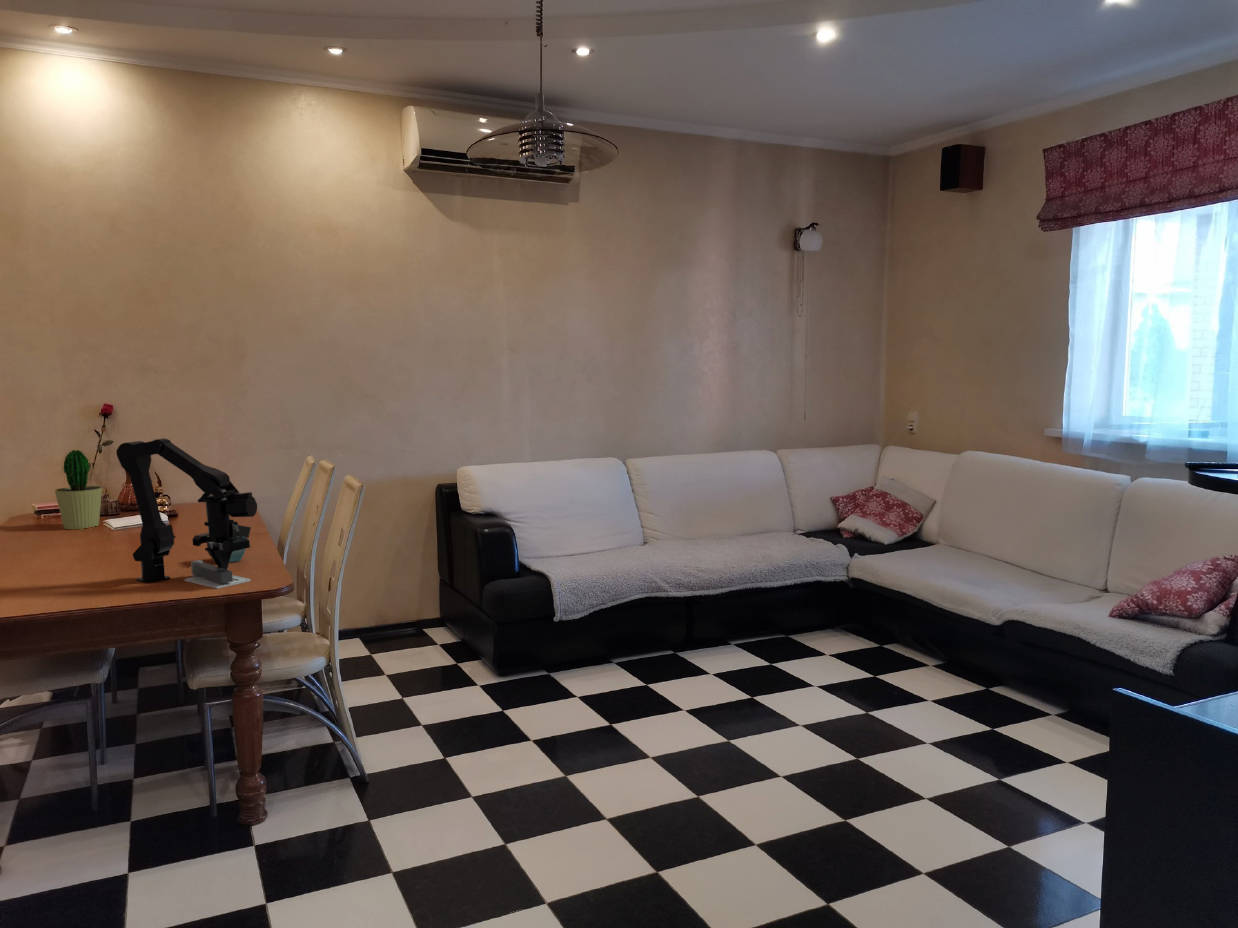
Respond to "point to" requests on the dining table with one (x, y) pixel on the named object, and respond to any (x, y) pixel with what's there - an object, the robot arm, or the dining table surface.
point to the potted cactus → (78, 494)
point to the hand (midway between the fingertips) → (224, 571)
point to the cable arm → (211, 572)
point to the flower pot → (237, 554)
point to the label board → (214, 584)
